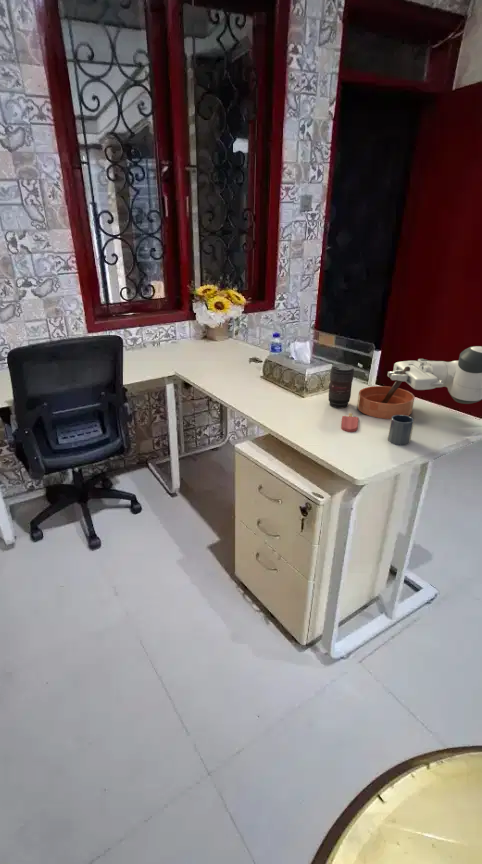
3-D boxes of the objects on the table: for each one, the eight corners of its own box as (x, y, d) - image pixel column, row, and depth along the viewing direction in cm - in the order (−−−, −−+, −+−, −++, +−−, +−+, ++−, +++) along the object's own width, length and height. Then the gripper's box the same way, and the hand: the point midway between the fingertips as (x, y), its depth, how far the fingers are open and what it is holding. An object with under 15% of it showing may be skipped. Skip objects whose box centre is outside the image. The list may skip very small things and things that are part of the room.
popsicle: (359, 412, 146) (357, 430, 133) (358, 416, 147) (357, 434, 134) (343, 410, 148) (340, 428, 135) (342, 414, 148) (340, 432, 136)
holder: (401, 436, 131) (406, 413, 127) (414, 445, 125) (418, 421, 122) (383, 439, 130) (387, 415, 127) (394, 448, 125) (399, 424, 121)
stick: (381, 406, 147) (408, 366, 141) (384, 408, 146) (412, 368, 139) (378, 404, 147) (405, 364, 140) (381, 407, 145) (409, 367, 139)
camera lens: (337, 410, 152) (341, 371, 145) (323, 403, 159) (326, 365, 152) (354, 406, 155) (359, 367, 148) (339, 399, 162) (343, 362, 155)
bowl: (393, 398, 159) (395, 384, 157) (422, 417, 143) (425, 401, 140) (348, 403, 157) (350, 388, 155) (373, 422, 141) (375, 406, 138)
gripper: (444, 394, 132) (399, 395, 133) (417, 374, 151) (378, 375, 152) (448, 375, 130) (402, 376, 131) (420, 357, 148) (381, 358, 149)
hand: (389, 375), depth 141 cm, fingers closed on stick, 1 cm apart
